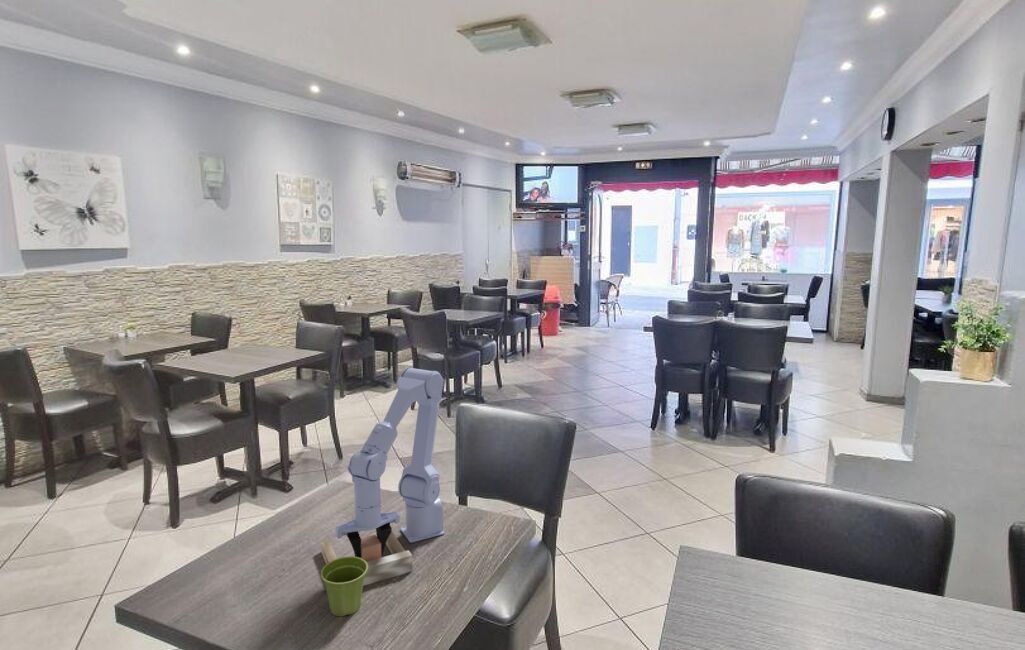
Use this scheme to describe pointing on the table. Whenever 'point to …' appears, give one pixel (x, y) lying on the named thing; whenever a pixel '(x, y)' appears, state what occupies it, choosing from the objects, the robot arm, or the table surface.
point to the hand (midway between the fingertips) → (369, 557)
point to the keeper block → (370, 548)
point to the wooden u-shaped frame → (379, 561)
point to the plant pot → (344, 584)
